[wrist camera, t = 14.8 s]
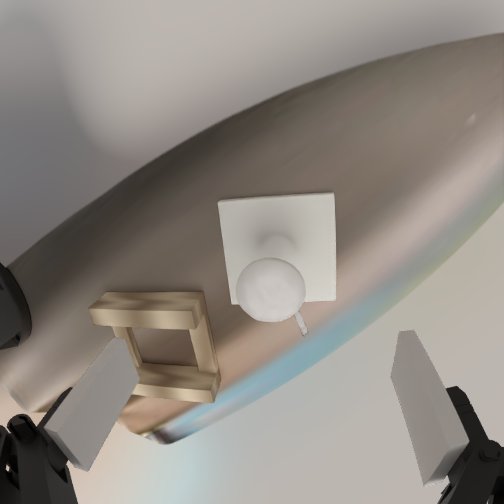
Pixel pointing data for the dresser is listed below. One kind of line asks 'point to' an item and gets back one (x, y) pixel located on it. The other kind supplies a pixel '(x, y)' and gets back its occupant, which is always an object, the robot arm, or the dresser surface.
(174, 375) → the pocket holder
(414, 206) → the dresser surface
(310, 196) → the pad
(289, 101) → the dresser surface
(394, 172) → the dresser surface
